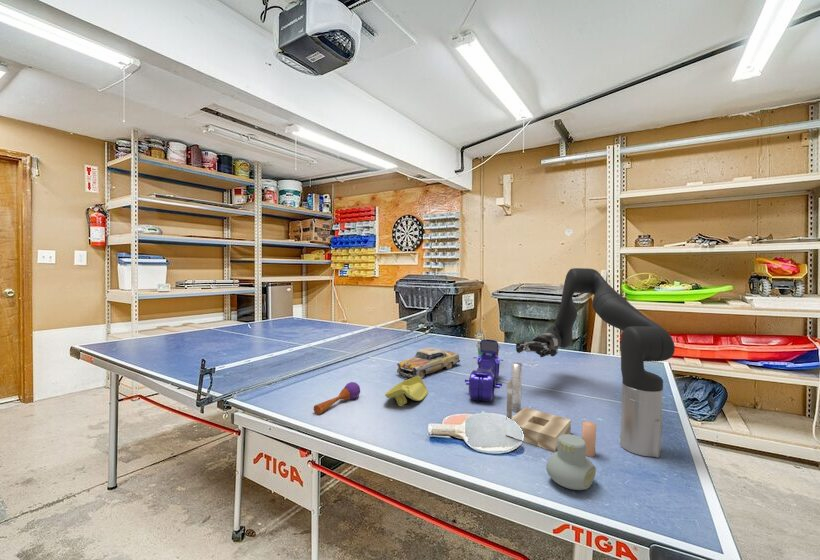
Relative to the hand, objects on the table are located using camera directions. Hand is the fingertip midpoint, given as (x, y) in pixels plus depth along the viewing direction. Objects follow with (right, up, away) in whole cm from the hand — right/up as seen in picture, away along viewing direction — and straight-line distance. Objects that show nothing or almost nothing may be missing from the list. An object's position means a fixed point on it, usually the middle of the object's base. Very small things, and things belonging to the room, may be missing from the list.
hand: (529, 352), depth 131 cm
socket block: (-5, -19, -25) cm, 32 cm away
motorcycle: (-13, -17, +13) cm, 26 cm away
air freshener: (-6, -21, -47) cm, 52 cm away
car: (-34, -16, +36) cm, 52 cm away
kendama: (-68, -18, -3) cm, 70 cm away
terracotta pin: (+4, -20, -35) cm, 40 cm away
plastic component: (-45, -18, +2) cm, 48 cm away
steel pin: (-7, -18, -8) cm, 21 cm away
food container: (-6, -15, +47) cm, 50 cm away
